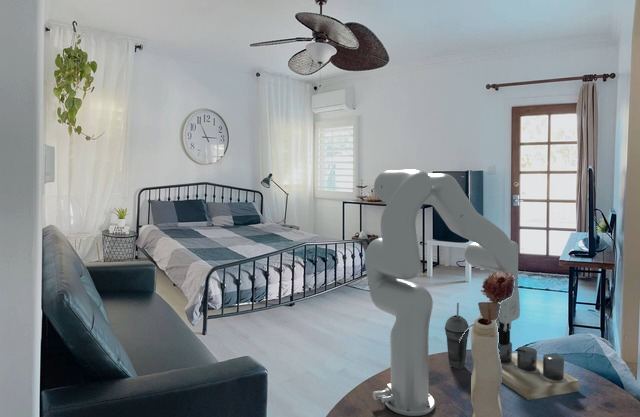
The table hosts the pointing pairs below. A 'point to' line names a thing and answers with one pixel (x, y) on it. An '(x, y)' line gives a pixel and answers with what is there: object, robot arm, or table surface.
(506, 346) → the knob left
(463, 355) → the beverage cup
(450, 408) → the table surface
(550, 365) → the knob right
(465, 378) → the table surface
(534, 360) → the knob mid
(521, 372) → the mount plate
